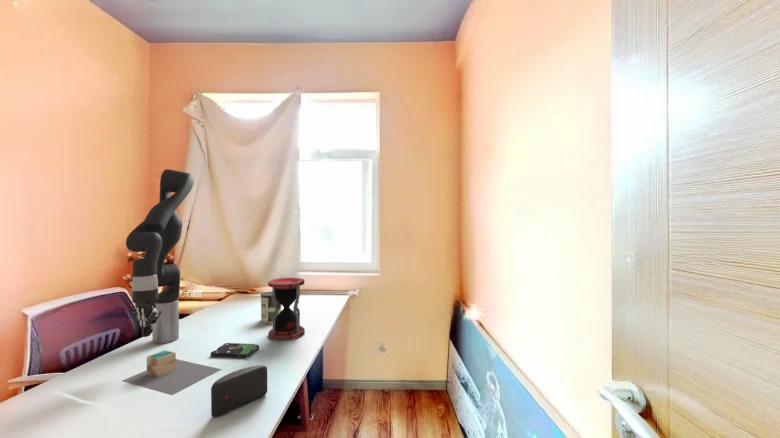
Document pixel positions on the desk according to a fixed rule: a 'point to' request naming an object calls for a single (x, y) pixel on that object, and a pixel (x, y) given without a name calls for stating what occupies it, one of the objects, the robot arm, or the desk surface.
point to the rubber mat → (174, 377)
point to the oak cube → (161, 363)
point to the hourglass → (286, 308)
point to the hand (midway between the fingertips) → (146, 336)
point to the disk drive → (235, 350)
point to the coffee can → (267, 308)
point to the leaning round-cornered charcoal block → (238, 389)
